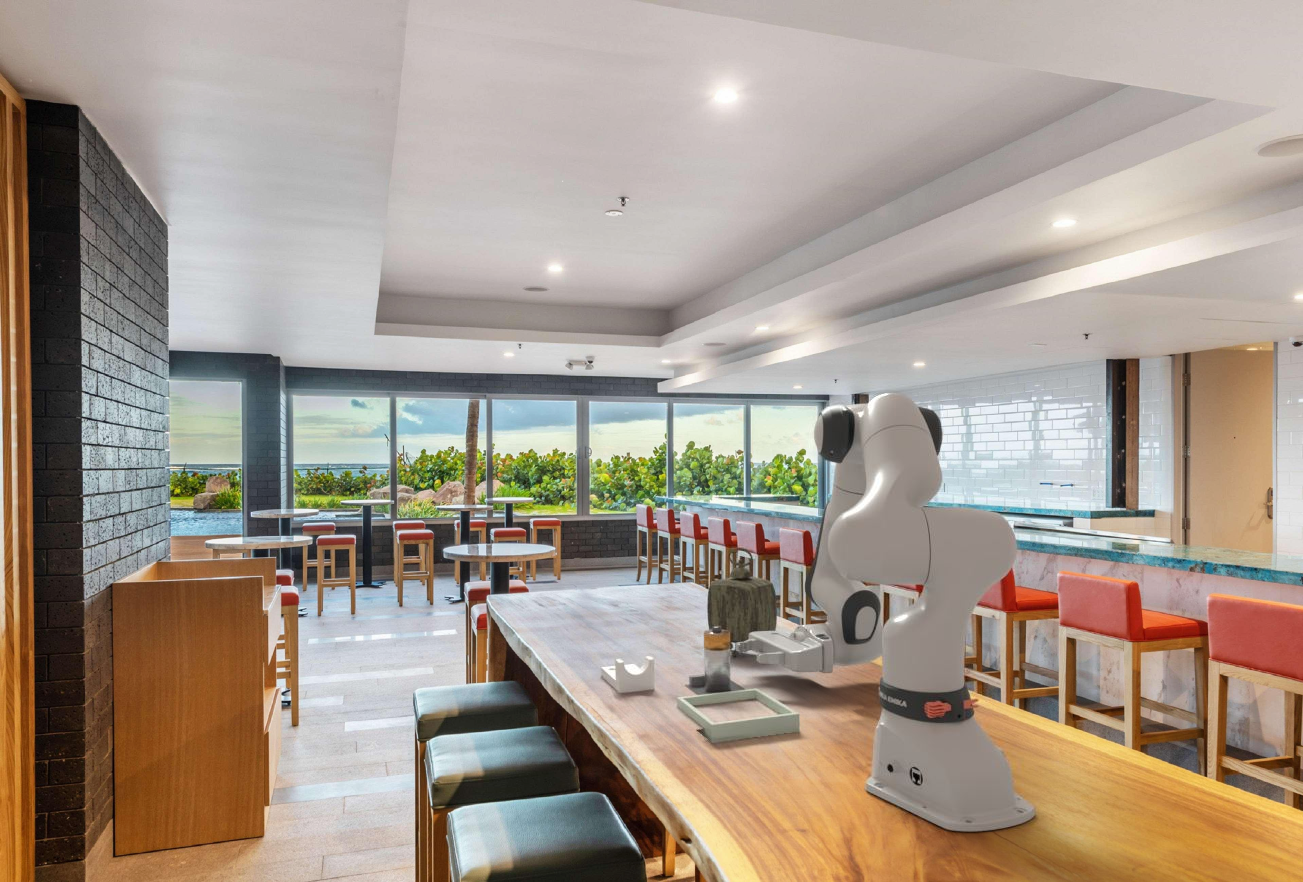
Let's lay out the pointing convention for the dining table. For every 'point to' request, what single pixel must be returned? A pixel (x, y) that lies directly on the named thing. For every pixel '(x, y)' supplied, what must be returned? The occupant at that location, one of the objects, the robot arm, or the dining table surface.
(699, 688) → the block
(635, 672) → the bracket
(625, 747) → the dining table surface
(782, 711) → the tray
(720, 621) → the tabletop clock
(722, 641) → the battery cell
